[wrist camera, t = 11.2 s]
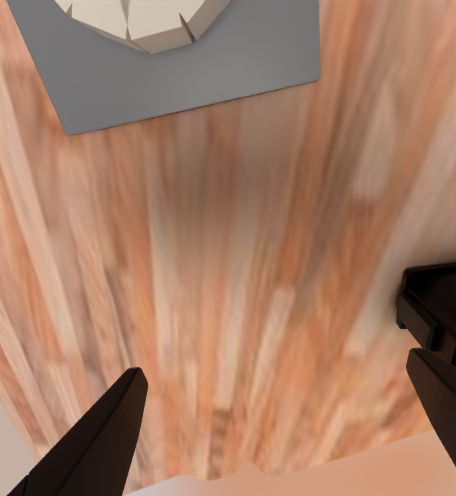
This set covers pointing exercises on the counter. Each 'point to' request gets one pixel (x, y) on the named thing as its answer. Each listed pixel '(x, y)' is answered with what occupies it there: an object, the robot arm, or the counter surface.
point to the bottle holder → (164, 54)
